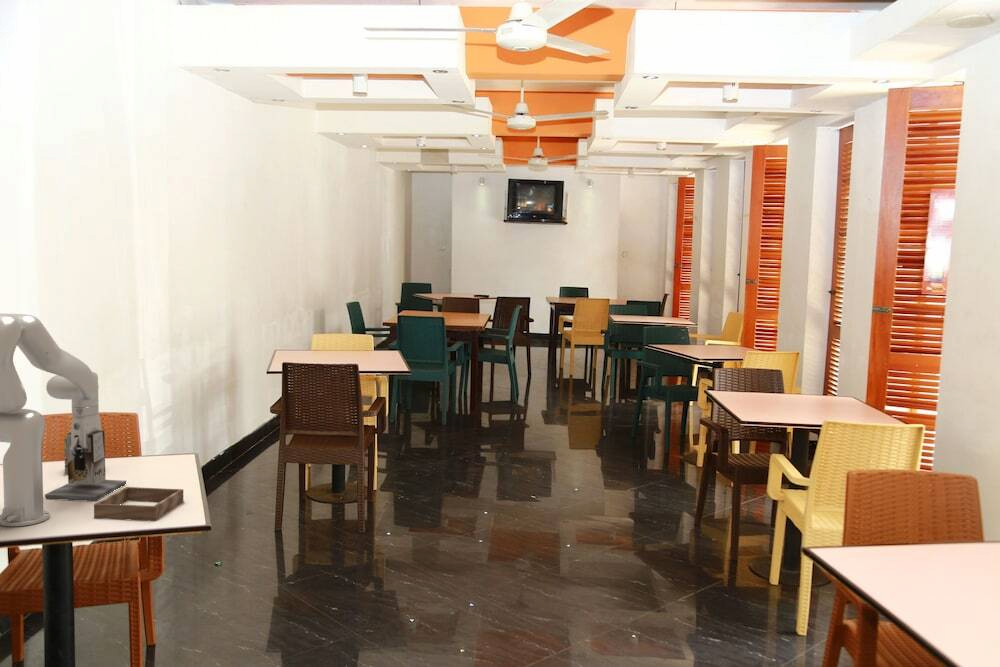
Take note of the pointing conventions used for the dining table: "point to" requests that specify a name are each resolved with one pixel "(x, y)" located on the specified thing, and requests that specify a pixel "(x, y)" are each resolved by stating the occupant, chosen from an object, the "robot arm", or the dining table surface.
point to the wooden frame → (138, 512)
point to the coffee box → (88, 461)
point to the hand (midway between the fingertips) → (86, 466)
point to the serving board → (85, 490)
